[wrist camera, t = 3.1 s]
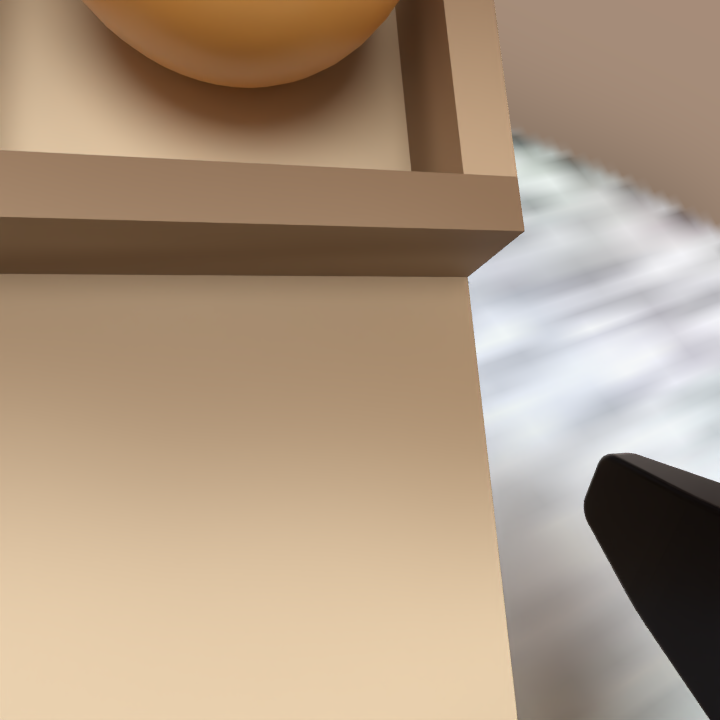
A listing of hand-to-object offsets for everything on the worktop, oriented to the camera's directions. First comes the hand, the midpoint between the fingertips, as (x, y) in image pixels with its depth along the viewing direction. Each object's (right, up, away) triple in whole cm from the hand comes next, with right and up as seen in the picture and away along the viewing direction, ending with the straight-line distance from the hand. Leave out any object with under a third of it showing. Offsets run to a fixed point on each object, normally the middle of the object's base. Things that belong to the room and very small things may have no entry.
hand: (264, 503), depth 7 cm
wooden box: (-3, +1, +7) cm, 8 cm away
